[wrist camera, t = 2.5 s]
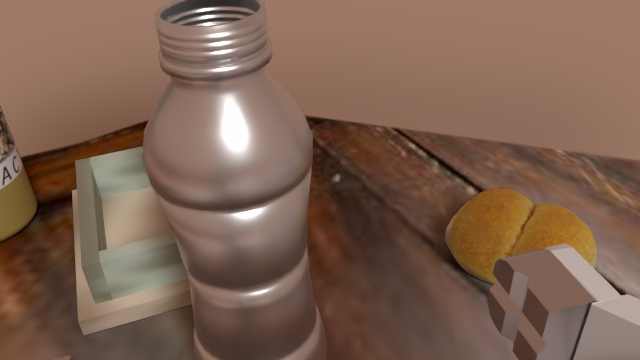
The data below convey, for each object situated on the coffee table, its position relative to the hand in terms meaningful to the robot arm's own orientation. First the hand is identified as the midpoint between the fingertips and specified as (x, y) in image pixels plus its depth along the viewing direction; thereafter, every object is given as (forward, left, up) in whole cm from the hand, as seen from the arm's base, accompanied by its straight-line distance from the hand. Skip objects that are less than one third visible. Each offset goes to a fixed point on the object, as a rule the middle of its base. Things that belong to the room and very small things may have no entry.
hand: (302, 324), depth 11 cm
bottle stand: (+1, -26, -18) cm, 32 cm away
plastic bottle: (-1, -12, -18) cm, 22 cm away
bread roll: (-19, -15, -18) cm, 31 cm away
